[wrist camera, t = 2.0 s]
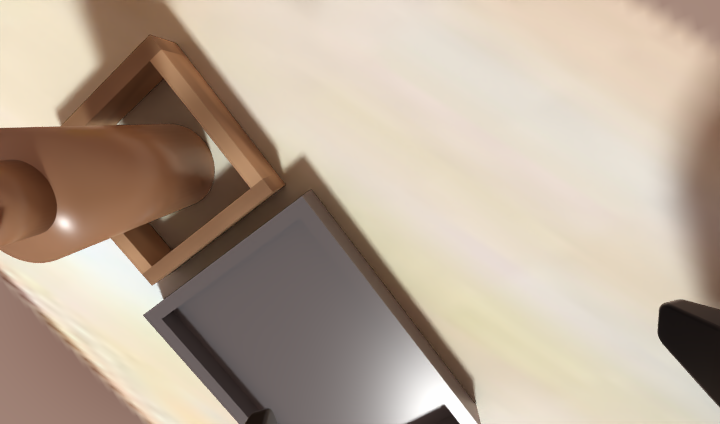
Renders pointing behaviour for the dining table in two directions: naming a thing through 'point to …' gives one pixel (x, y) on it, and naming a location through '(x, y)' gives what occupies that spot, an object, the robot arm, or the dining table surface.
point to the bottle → (93, 183)
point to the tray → (307, 332)
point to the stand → (171, 64)
